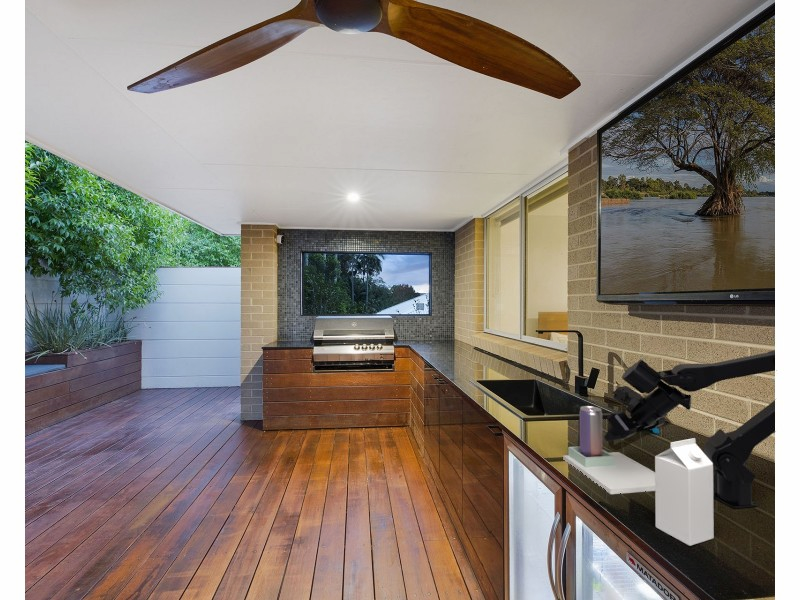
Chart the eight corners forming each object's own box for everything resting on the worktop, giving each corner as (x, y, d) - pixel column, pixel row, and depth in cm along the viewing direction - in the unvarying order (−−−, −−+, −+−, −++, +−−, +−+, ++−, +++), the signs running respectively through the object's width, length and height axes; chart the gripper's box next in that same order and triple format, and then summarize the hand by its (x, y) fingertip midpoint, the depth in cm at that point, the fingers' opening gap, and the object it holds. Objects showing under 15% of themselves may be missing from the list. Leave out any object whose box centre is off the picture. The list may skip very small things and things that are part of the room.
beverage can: (578, 461, 117) (578, 409, 117) (580, 454, 123) (580, 404, 123) (602, 465, 114) (601, 412, 114) (602, 458, 120) (602, 407, 120)
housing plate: (676, 489, 103) (676, 474, 103) (610, 494, 100) (610, 479, 100) (618, 455, 125) (618, 443, 125) (563, 459, 122) (563, 447, 122)
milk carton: (655, 527, 86) (654, 437, 86) (678, 521, 88) (678, 433, 88) (689, 546, 79) (688, 448, 79) (714, 539, 82) (713, 443, 82)
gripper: (652, 374, 113) (613, 405, 122) (614, 382, 103) (575, 416, 112) (684, 409, 106) (641, 439, 116) (647, 421, 96) (603, 453, 106)
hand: (615, 436), depth 113 cm, fingers open, 9 cm apart
